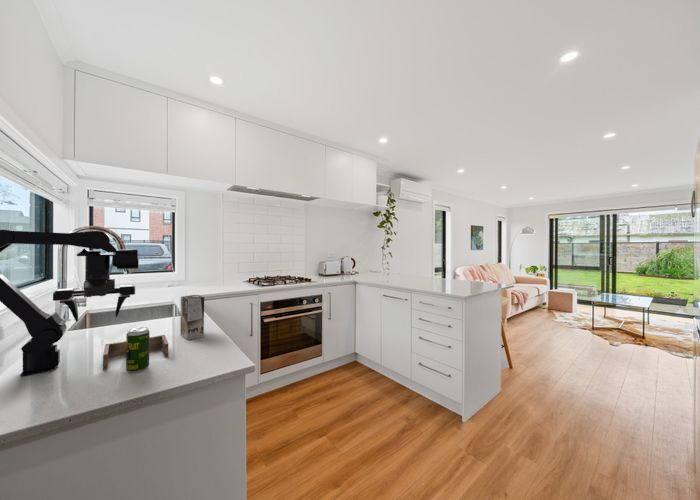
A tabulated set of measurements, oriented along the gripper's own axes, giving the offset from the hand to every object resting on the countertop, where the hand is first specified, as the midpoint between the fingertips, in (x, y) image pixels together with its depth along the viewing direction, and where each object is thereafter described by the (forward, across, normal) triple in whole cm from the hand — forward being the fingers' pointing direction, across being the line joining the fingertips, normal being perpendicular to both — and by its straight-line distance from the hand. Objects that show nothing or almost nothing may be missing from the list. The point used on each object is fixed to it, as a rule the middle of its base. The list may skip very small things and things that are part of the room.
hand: (97, 318), depth 86 cm
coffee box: (+13, +28, +8) cm, 32 cm away
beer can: (+13, +10, -17) cm, 24 cm away
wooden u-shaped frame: (+13, +10, -6) cm, 17 cm away
